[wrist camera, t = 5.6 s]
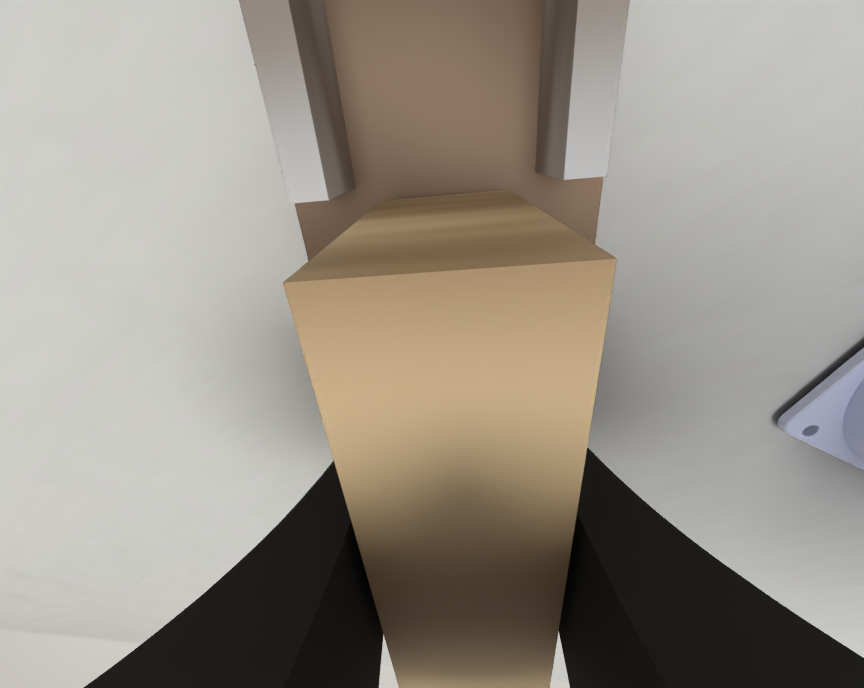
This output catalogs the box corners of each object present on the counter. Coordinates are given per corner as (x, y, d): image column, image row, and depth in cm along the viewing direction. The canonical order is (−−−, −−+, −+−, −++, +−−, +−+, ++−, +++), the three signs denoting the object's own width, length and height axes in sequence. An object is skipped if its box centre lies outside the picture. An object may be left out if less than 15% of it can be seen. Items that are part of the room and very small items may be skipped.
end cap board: (557, 467, 15) (585, 547, 12) (370, 474, 16) (352, 553, 13) (628, -177, 7) (767, -424, 4) (234, -119, 8) (93, -299, 5)
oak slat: (504, 506, 14) (542, 734, 8) (424, 509, 14) (412, 732, 9) (509, 189, 8) (617, 258, 3) (381, 200, 9) (282, 282, 3)
